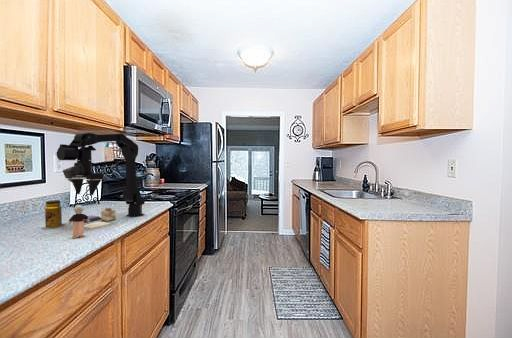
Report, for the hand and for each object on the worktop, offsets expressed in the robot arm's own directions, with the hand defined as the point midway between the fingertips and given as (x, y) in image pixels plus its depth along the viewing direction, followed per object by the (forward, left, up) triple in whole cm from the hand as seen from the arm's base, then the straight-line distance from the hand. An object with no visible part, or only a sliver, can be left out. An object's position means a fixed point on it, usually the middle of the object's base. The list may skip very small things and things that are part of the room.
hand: (84, 194), depth 127 cm
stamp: (-13, -2, -15) cm, 20 cm away
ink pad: (-8, -11, -15) cm, 20 cm away
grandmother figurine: (+12, +14, -15) cm, 24 cm away
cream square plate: (-3, +2, -15) cm, 15 cm away
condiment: (+6, -13, -15) cm, 21 cm away
